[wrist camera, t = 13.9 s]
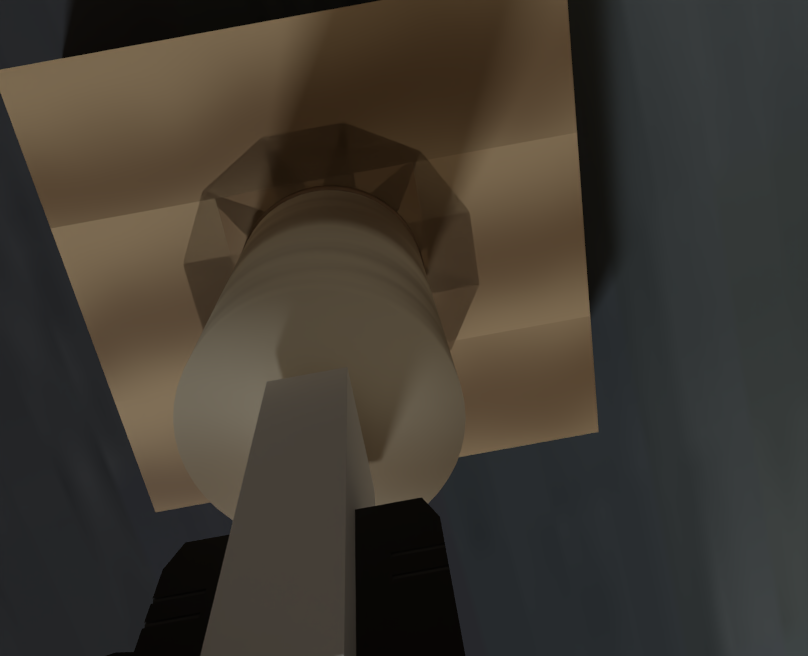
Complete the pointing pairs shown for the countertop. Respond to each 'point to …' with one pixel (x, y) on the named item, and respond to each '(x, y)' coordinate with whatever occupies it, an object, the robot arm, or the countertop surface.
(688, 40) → the countertop surface
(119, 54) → the block
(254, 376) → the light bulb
